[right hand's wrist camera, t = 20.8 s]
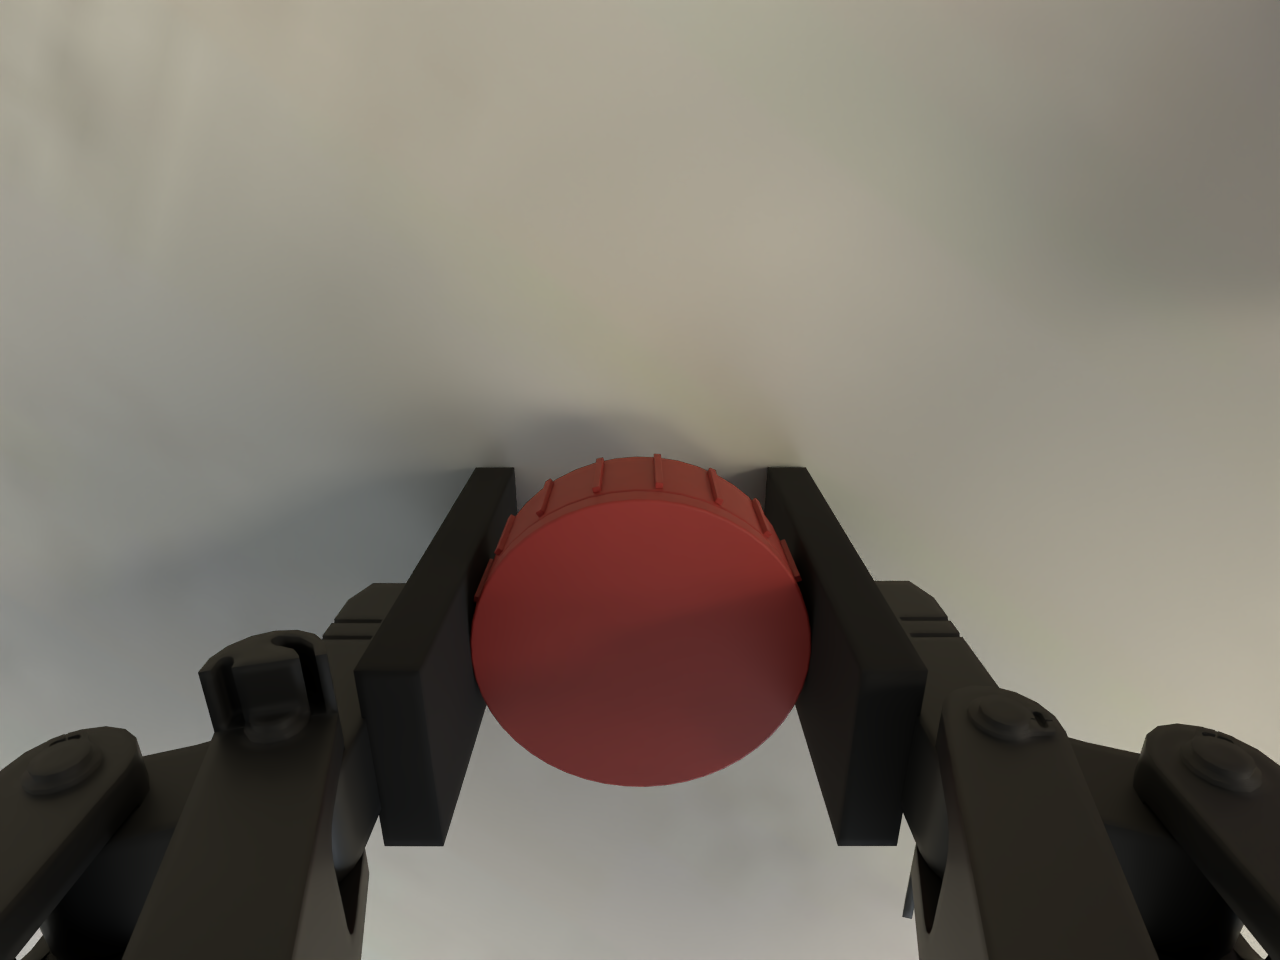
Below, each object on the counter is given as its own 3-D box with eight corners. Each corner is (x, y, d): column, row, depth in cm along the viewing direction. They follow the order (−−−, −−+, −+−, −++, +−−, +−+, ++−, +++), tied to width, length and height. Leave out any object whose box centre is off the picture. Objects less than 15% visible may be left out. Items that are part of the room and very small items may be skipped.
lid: (833, 657, 13) (862, 725, 11) (570, 752, 14) (560, 829, 12) (726, 400, 11) (742, 436, 9) (431, 527, 12) (397, 581, 10)
